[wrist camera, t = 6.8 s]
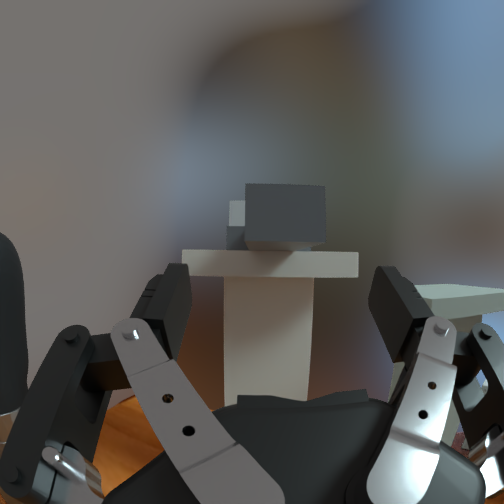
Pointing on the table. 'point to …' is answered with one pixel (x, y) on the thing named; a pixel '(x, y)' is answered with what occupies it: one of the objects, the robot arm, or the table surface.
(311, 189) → the block
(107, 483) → the table surface
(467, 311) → the low pedestal
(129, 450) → the table surface
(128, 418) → the table surface
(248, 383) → the tall pedestal
